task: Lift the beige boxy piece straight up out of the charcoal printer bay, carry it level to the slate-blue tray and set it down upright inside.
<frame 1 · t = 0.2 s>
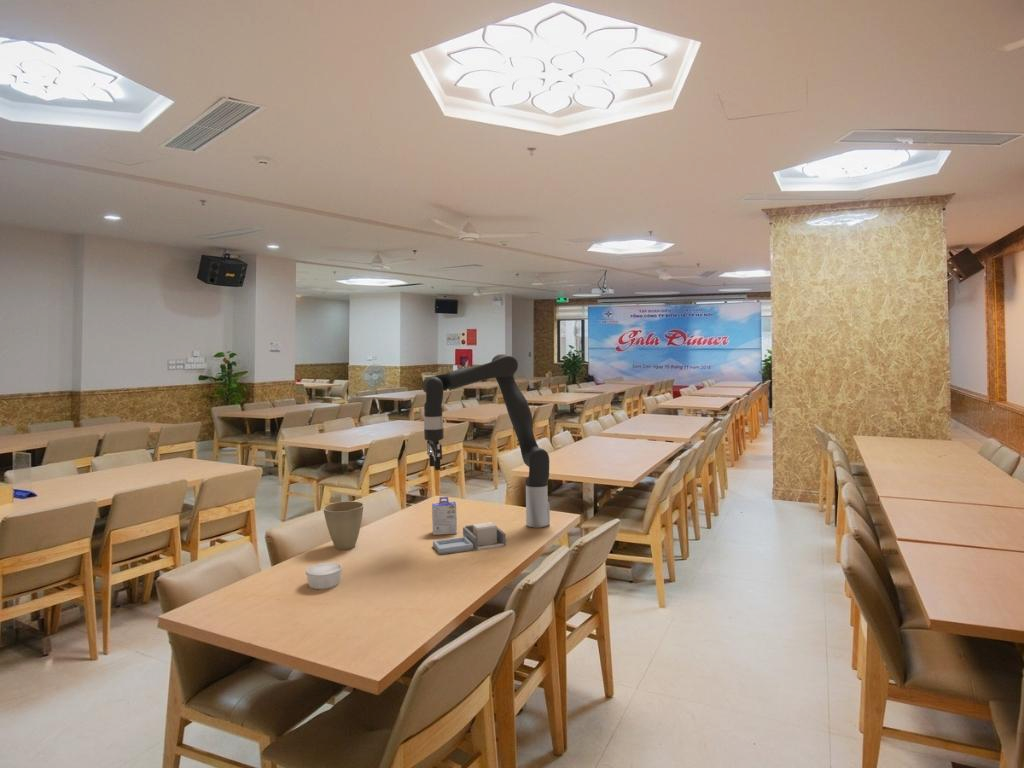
hand: (434, 468, 233), 29 cm above the table, tool pointing down, fingers open, 8 cm apart
ink cartridge box: (444, 533, 242), on the table
printer bay: (485, 542, 229), on the table
beige boxy piece: (485, 543, 229), resting in printer bay
ramekin: (324, 584, 191), on the table
plant pot: (344, 547, 227), on the table
tray: (453, 548, 223), on the table
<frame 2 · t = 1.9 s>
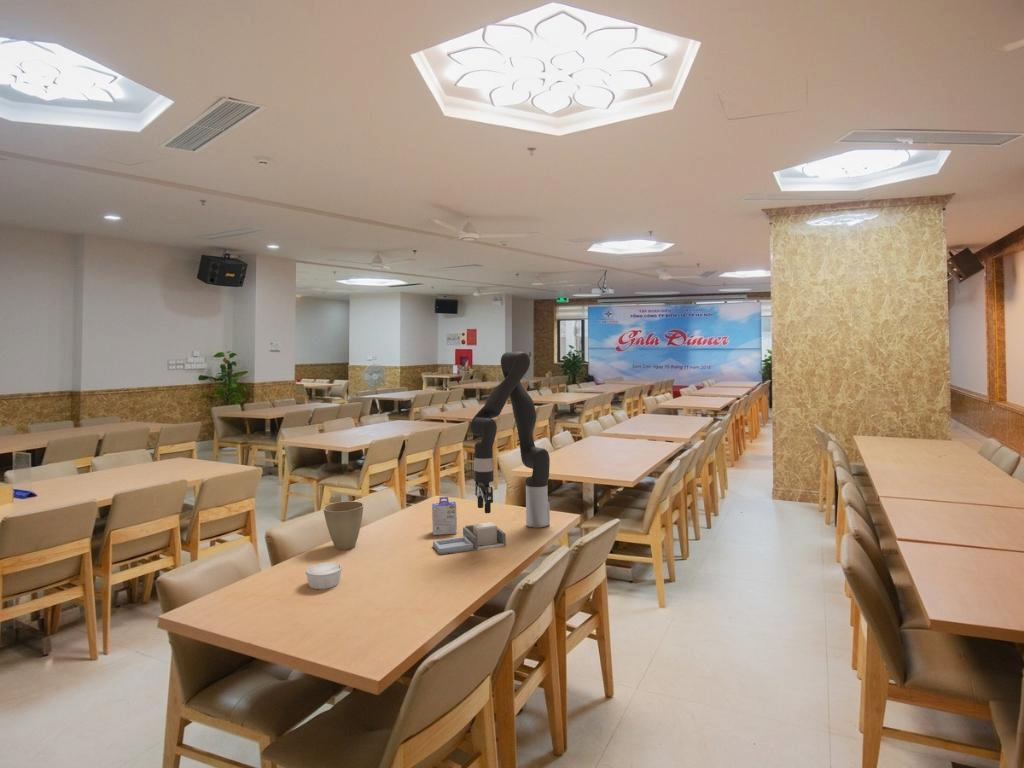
hand: (484, 510, 228), 13 cm above the table, tool pointing down, fingers open, 8 cm apart
nothing on the table moved.
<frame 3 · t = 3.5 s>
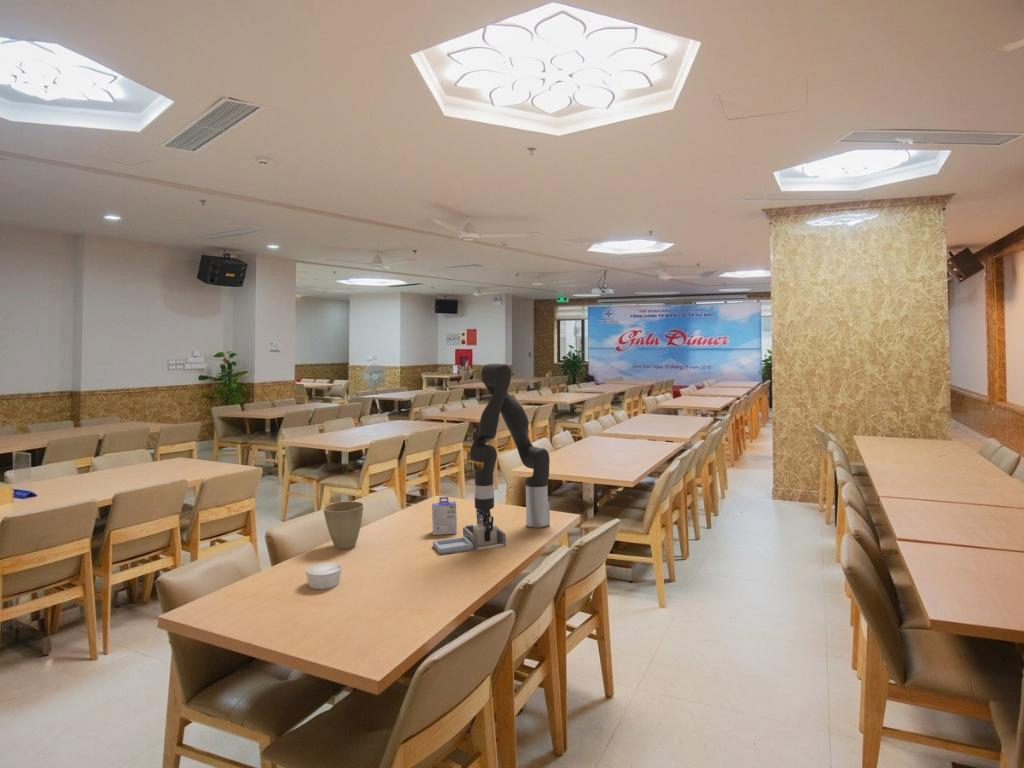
hand: (485, 538, 229), 2 cm above the table, tool pointing down, fingers closed on beige boxy piece, 5 cm apart
beige boxy piece: (485, 543, 229), resting in printer bay, touching gripper
everything else where it was.
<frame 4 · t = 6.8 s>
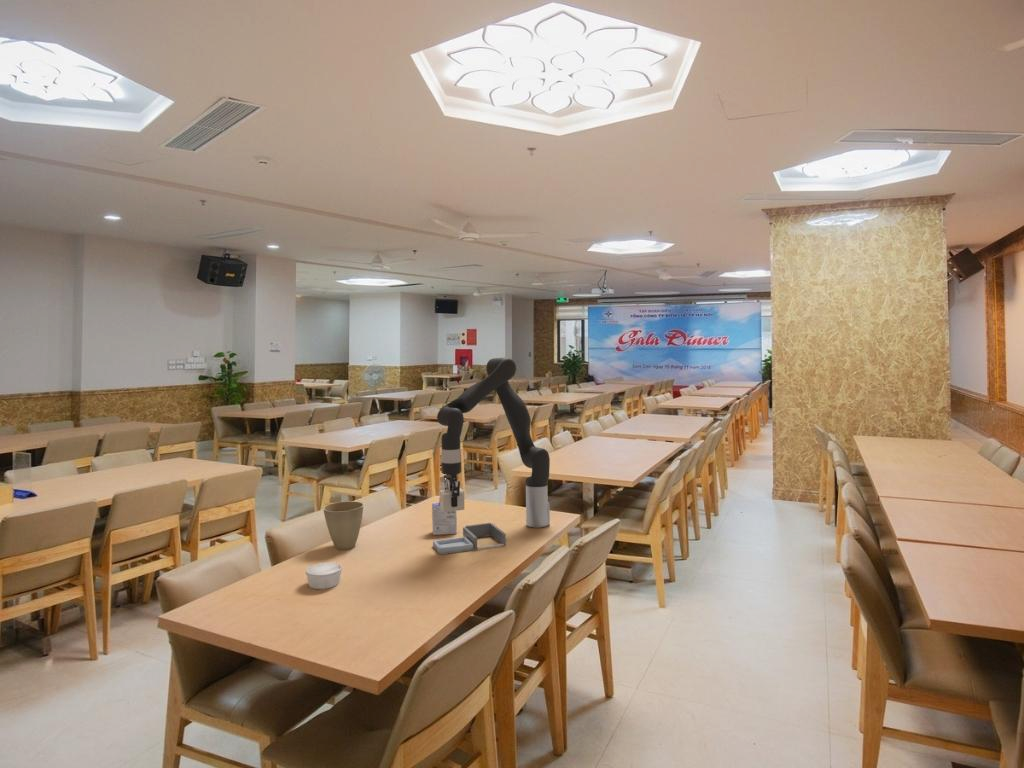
hand: (452, 504, 222), 17 cm above the table, tool pointing down, fingers closed on beige boxy piece, 5 cm apart
beige boxy piece: (452, 509, 222), point 15 cm above the table, touching gripper
everything else where it was.
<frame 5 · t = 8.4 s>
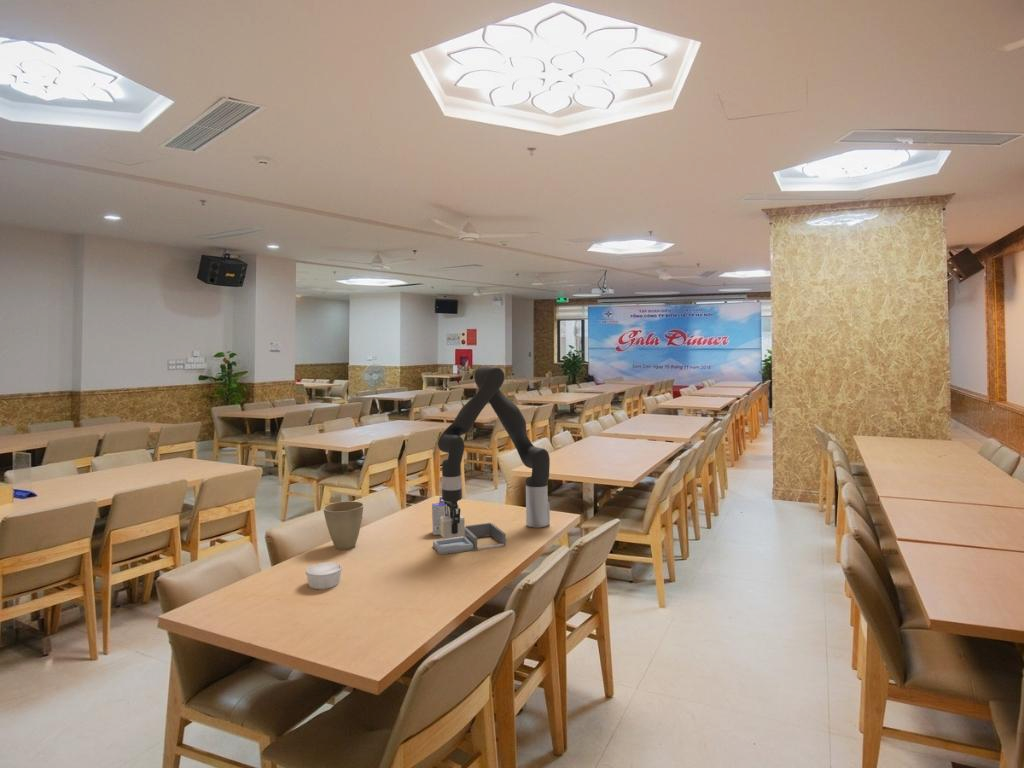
hand: (452, 531, 223), 7 cm above the table, tool pointing down, fingers closed on beige boxy piece, 5 cm apart
beige boxy piece: (452, 535, 223), point 5 cm above the table, touching gripper
everything else where it was.
when the fingers open (3 cm above the table, at t = 9.9 s): beige boxy piece stays where it is, resting on tray.
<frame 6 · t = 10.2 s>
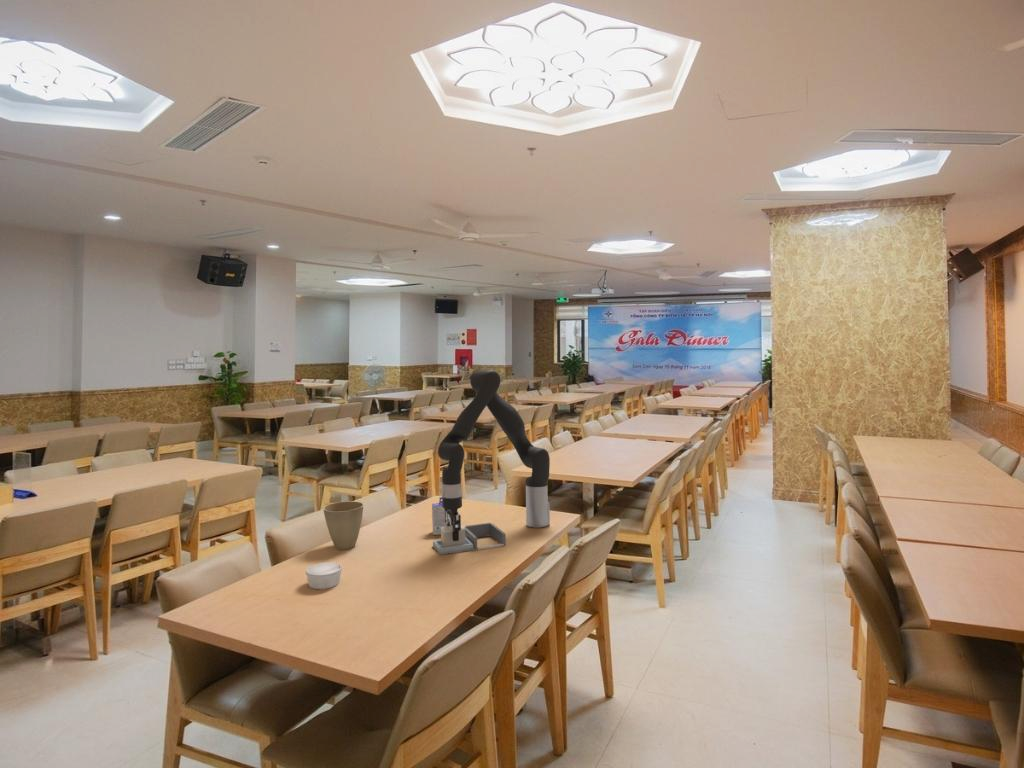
hand: (452, 537, 223), 4 cm above the table, tool pointing down, fingers open, 7 cm apart
beige boxy piece: (453, 546, 223), point 1 cm above the table, touching tray
everything else where it was.
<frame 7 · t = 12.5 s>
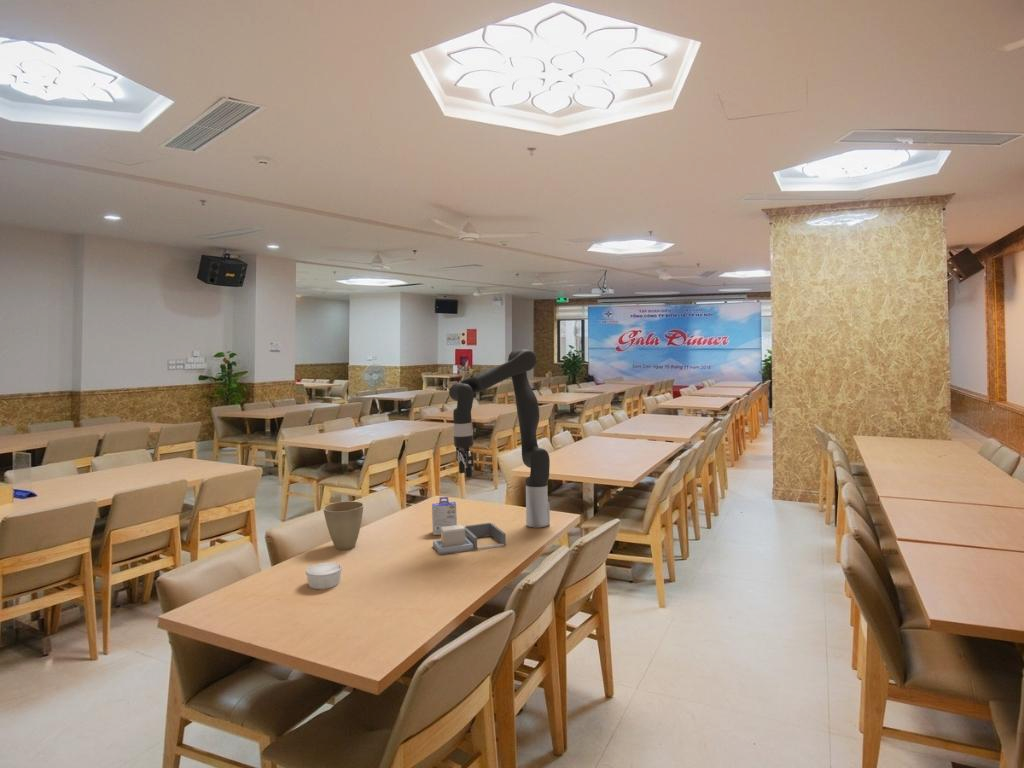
hand: (465, 474, 231), 26 cm above the table, tool pointing down, fingers open, 8 cm apart
nothing on the table moved.
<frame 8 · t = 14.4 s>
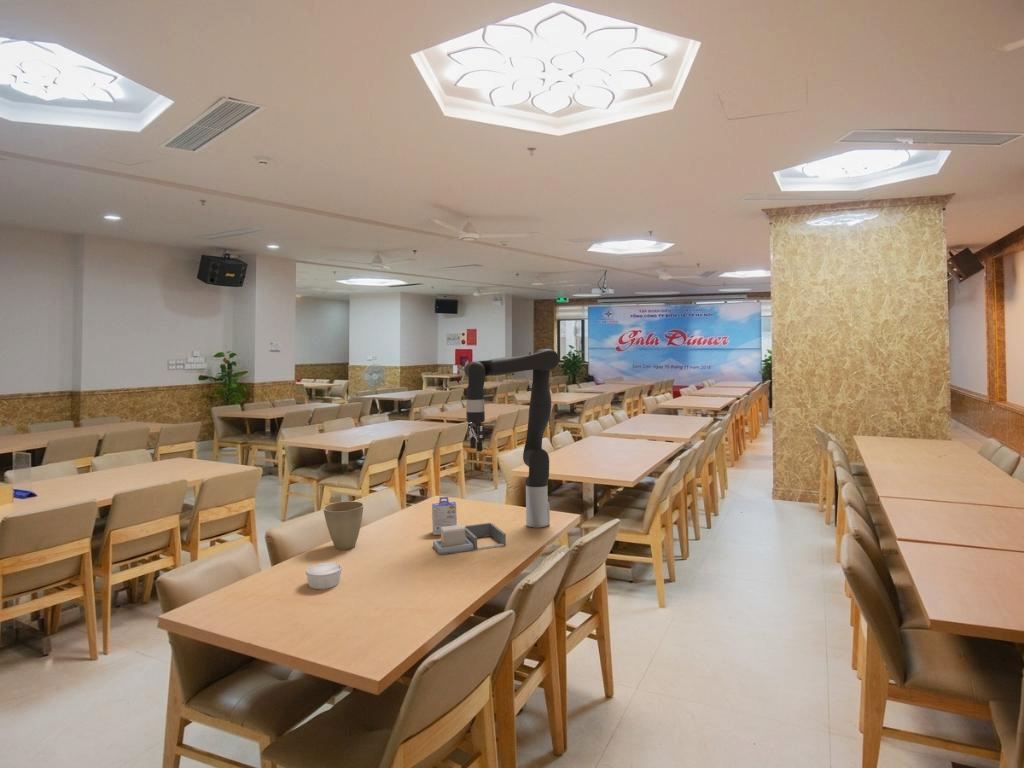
hand: (476, 449, 242), 34 cm above the table, tool pointing down, fingers open, 8 cm apart
nothing on the table moved.
at the end: beige boxy piece inside the target area on the tray (0.1 cm from its centre), point 0.8 cm above the tray's base; beige boxy piece tilted 0°; the gripper is holding nothing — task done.
